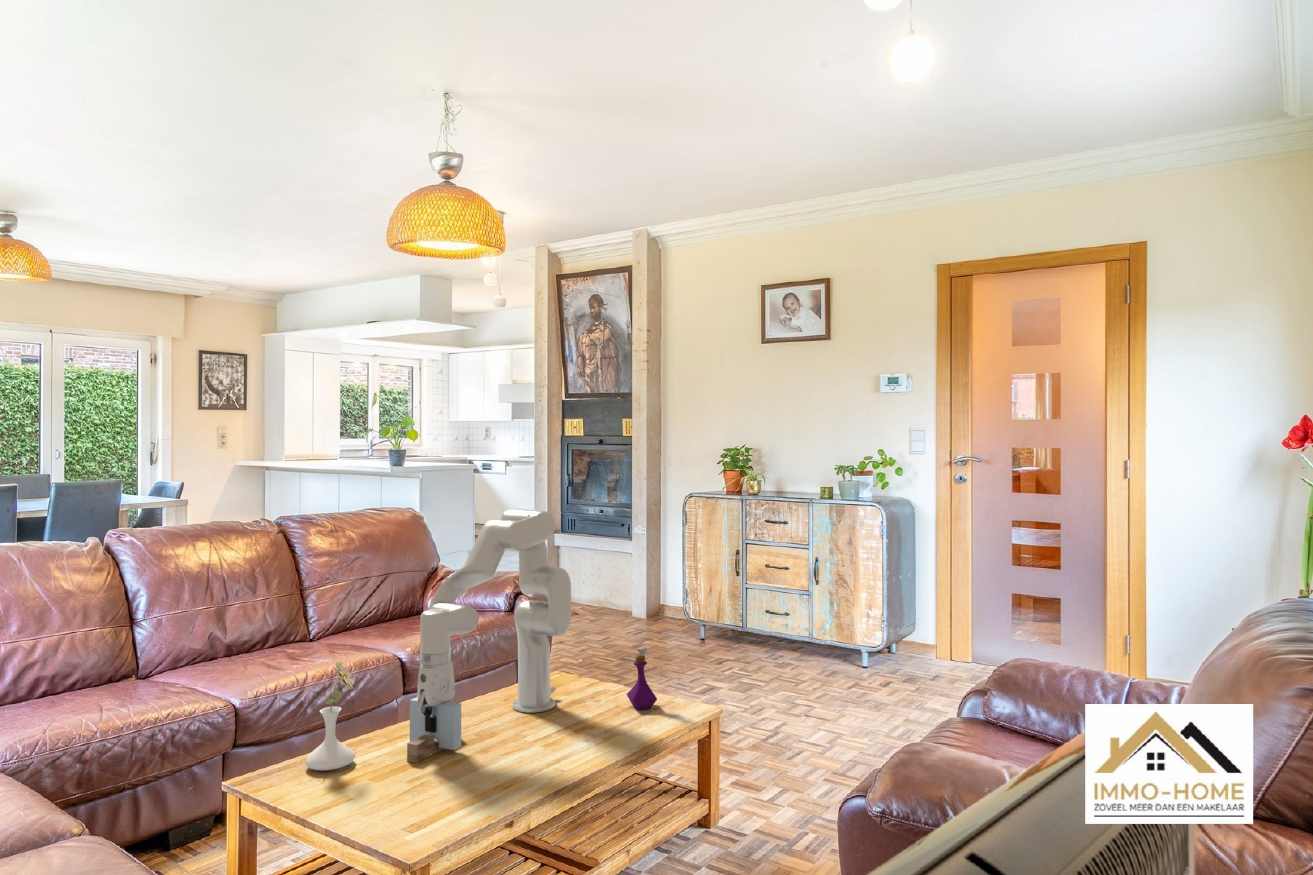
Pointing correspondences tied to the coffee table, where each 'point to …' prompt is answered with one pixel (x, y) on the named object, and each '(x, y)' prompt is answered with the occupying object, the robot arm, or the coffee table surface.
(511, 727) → the coffee table surface
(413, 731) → the blue grey notched plate
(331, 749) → the flower in vase
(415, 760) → the brown notched bar
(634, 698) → the perfume bottle
